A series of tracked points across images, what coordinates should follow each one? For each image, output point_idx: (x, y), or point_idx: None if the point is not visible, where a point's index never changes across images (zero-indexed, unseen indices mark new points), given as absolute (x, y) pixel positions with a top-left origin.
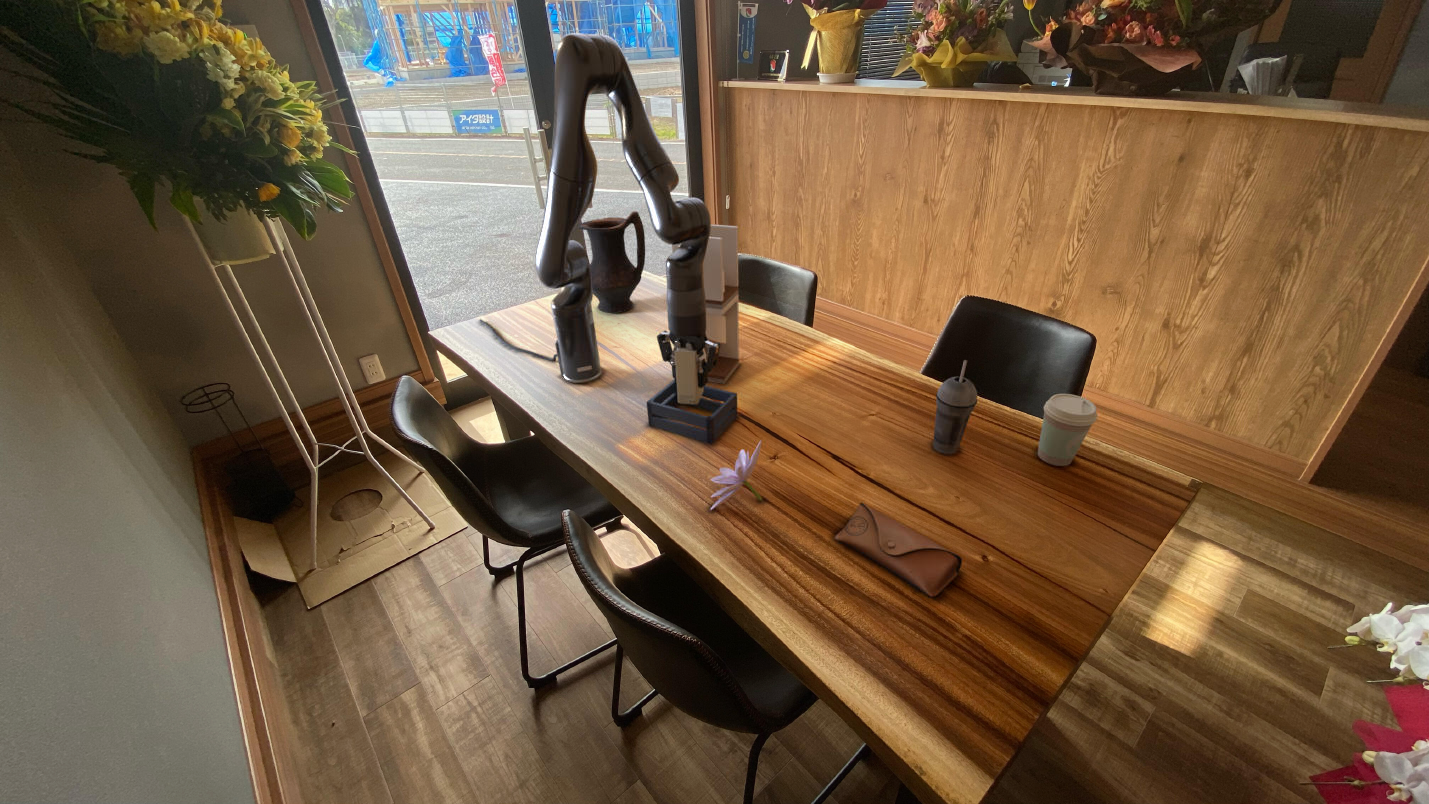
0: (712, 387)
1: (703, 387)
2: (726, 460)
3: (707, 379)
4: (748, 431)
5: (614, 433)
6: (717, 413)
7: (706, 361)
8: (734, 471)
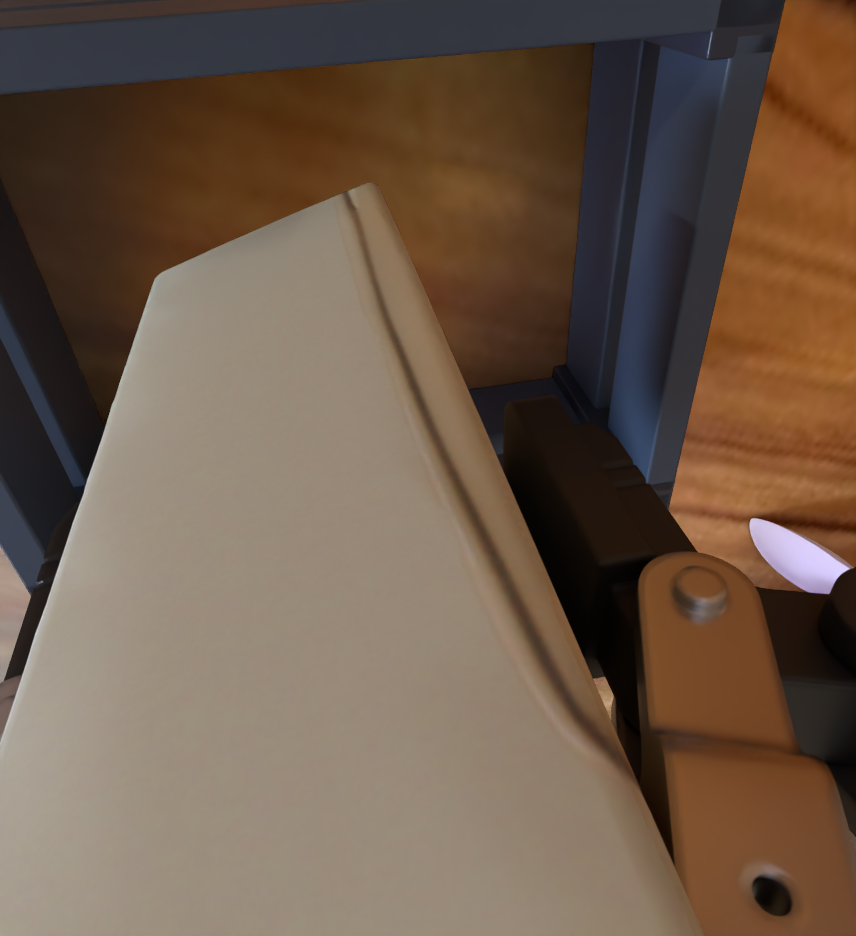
0: (417, 7)
1: (386, 204)
2: (711, 449)
3: (629, 467)
4: (778, 126)
5: (3, 613)
6: (686, 424)
7: (775, 694)
8: (798, 534)
